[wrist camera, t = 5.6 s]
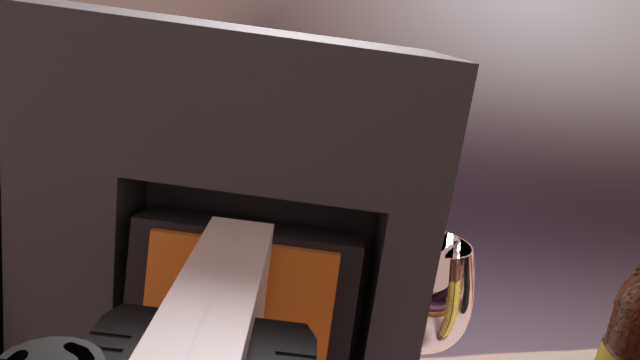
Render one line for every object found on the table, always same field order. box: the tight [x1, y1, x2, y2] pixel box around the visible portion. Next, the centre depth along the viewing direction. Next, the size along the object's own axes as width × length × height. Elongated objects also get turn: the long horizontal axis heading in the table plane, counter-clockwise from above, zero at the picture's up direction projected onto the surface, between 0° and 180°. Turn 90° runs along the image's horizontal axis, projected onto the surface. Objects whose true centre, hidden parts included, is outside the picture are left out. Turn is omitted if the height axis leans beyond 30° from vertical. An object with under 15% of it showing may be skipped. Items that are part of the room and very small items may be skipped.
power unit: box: [0, 0, 479, 360], centre depth 20 cm, size 20×8×22 cm, turn 88°
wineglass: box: [421, 231, 475, 354], centre depth 32 cm, size 6×6×12 cm
